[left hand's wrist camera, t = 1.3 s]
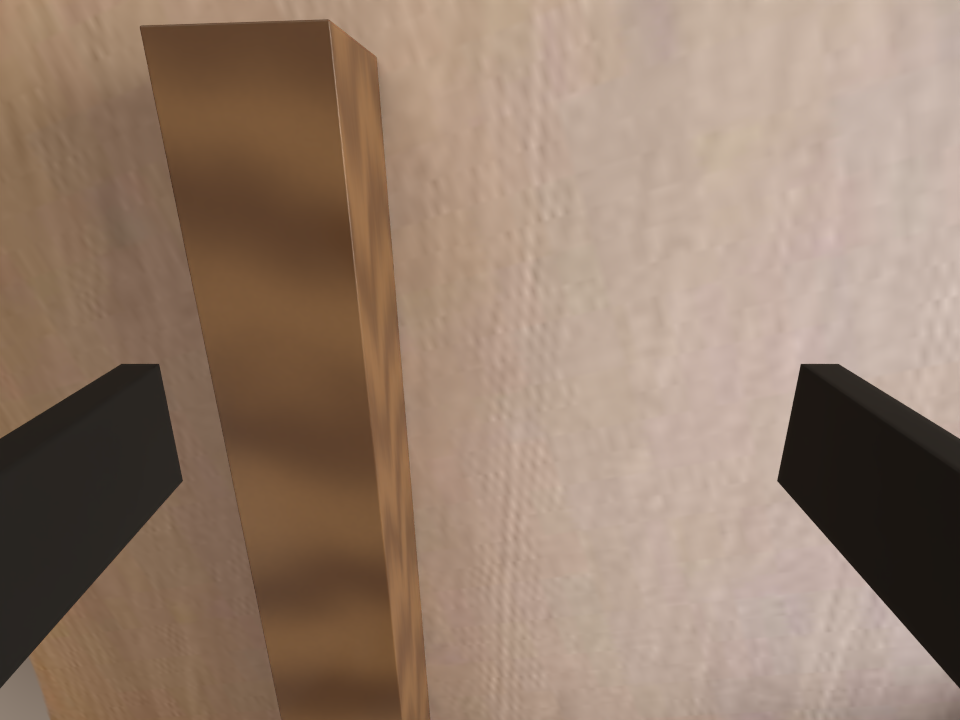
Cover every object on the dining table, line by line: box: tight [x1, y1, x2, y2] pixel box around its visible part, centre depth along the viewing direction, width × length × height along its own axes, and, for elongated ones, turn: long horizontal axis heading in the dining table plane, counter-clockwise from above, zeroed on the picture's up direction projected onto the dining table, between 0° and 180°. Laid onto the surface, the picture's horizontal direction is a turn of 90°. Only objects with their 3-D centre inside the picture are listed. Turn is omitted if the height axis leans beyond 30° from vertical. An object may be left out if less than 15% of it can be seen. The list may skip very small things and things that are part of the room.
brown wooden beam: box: [140, 20, 430, 720], centre depth 32 cm, size 55×6×9 cm, turn 2°
